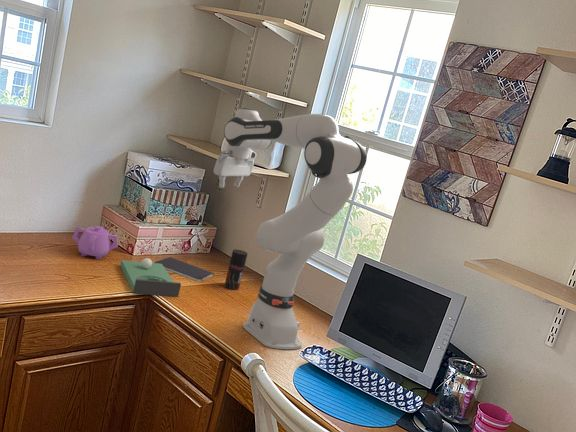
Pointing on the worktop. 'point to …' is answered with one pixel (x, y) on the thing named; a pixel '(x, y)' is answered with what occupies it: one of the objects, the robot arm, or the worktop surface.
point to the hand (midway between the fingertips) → (229, 186)
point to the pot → (94, 241)
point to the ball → (146, 263)
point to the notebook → (184, 269)
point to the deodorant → (235, 269)
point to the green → (149, 279)
